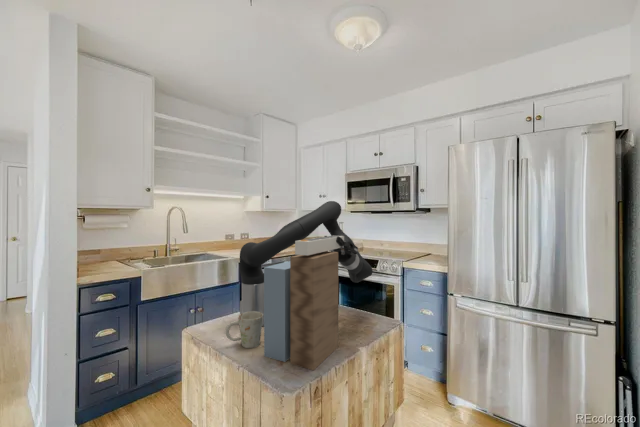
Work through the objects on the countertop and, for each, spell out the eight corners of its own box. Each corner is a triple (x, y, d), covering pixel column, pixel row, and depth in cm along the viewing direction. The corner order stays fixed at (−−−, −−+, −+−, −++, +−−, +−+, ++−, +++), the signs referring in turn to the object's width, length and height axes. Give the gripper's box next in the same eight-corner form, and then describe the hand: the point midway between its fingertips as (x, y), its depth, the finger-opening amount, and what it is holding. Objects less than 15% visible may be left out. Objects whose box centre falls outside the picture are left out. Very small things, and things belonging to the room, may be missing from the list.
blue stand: (264, 356, 92) (264, 267, 93) (293, 336, 107) (293, 260, 108) (285, 362, 89) (284, 269, 89) (312, 340, 104) (312, 261, 104)
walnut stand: (290, 363, 88) (290, 256, 88) (317, 341, 103) (317, 250, 103) (313, 370, 84) (313, 258, 84) (338, 346, 99) (338, 252, 99)
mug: (264, 348, 98) (264, 318, 98) (224, 353, 95) (224, 322, 95) (261, 338, 106) (261, 310, 106) (225, 342, 103) (225, 313, 103)
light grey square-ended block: (295, 254, 87) (295, 240, 87) (333, 246, 110) (333, 234, 110) (307, 255, 85) (307, 240, 85) (344, 246, 108) (344, 235, 108)
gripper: (333, 247, 121) (316, 228, 108) (366, 249, 114) (351, 229, 101) (329, 264, 118) (310, 247, 105) (362, 267, 111) (347, 249, 98)
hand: (331, 238), depth 103 cm, fingers closed on light grey square-ended block, 4 cm apart
